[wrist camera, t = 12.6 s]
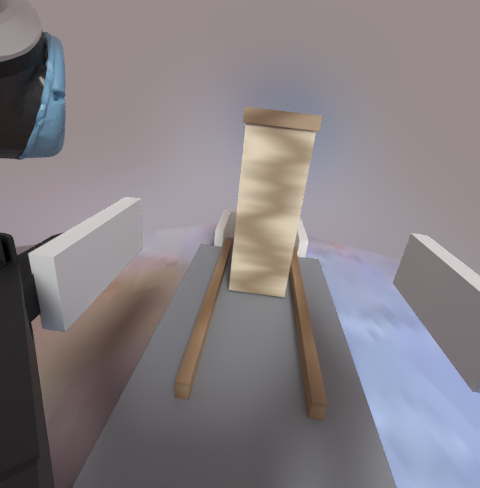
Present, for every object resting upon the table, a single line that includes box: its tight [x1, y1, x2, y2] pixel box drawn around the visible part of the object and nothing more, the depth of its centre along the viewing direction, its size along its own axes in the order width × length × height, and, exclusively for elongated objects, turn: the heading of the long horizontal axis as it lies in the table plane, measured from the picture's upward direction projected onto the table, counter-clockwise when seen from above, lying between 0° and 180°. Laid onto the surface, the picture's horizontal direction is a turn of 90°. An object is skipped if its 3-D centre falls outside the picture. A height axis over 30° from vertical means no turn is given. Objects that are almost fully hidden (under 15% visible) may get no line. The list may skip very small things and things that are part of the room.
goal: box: [214, 209, 308, 258], centre depth 40 cm, size 11×9×4 cm
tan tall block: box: [229, 107, 322, 297], centre depth 28 cm, size 5×8×15 cm, turn 174°
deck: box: [72, 244, 396, 488], centre depth 25 cm, size 14×26×2 cm, turn 174°
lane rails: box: [175, 238, 327, 420], centre depth 26 cm, size 8×21×1 cm, turn 174°
